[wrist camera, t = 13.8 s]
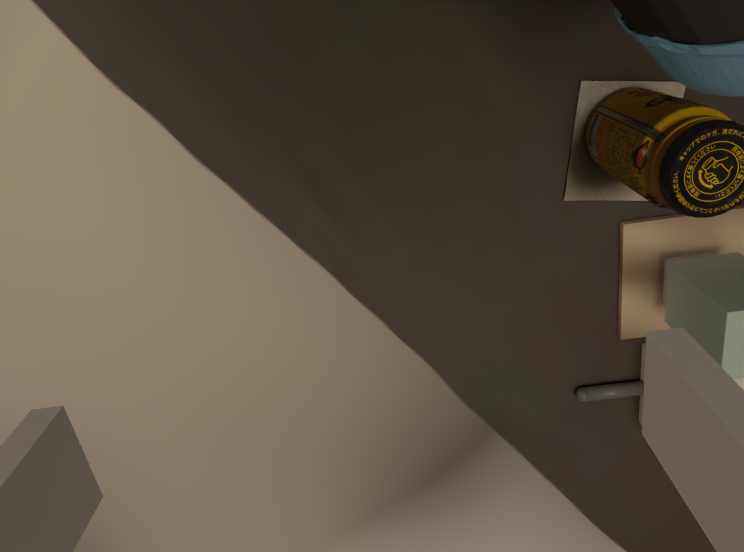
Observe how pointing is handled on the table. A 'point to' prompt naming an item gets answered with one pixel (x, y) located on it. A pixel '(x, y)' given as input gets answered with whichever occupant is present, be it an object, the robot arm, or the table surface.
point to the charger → (709, 304)
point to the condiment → (654, 149)
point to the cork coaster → (647, 259)
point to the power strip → (623, 388)
